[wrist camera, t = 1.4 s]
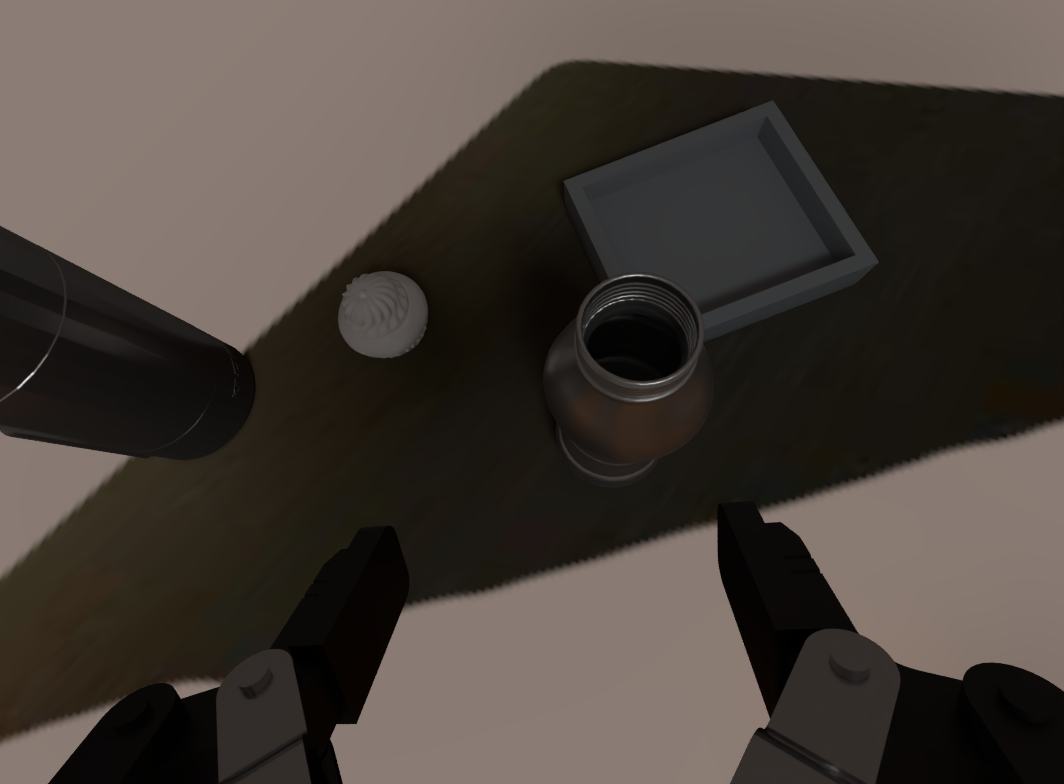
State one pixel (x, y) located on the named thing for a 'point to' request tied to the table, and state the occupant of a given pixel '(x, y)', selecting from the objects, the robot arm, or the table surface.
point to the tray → (722, 220)
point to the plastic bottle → (628, 378)
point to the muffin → (383, 314)
